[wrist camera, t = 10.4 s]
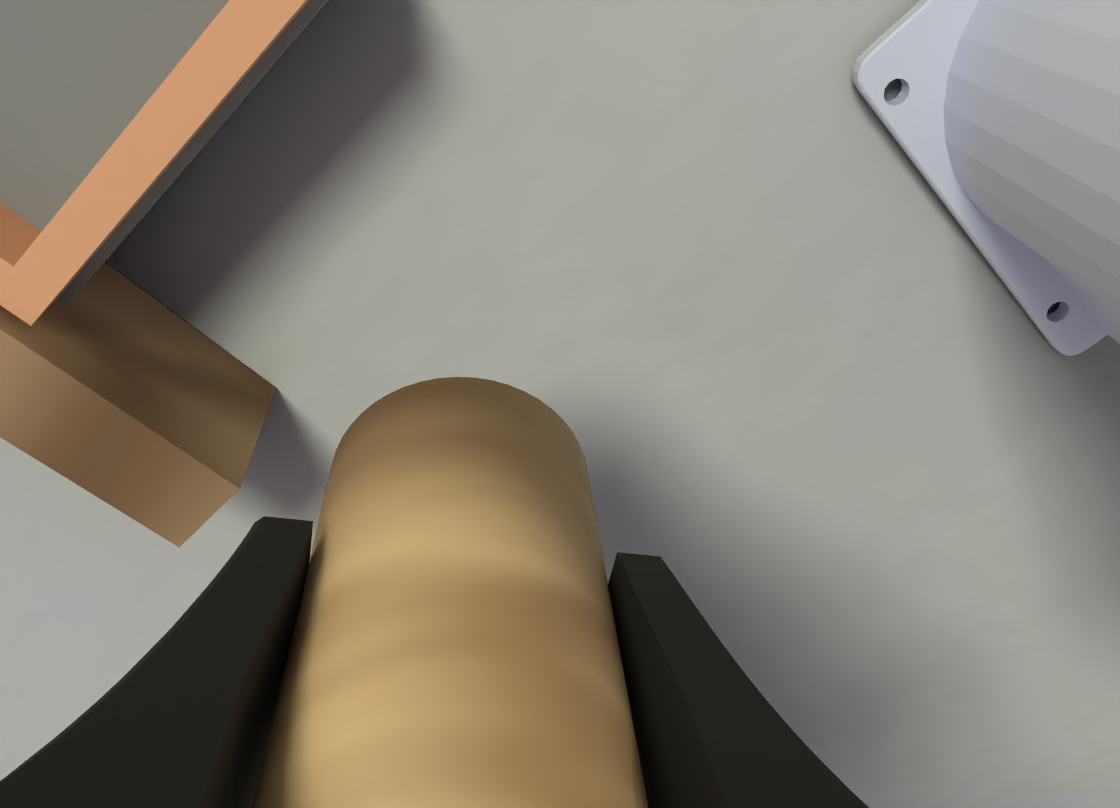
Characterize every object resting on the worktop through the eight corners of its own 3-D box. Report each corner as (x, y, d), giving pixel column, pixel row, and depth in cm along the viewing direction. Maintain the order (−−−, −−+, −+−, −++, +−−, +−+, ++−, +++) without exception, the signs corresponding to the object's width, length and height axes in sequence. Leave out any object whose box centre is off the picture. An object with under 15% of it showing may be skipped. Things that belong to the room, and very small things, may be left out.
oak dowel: (639, 483, 15) (783, 1030, 8) (465, 622, 16) (459, 1200, 9) (454, 325, 13) (433, 844, 6) (276, 494, 14) (95, 1082, 7)
